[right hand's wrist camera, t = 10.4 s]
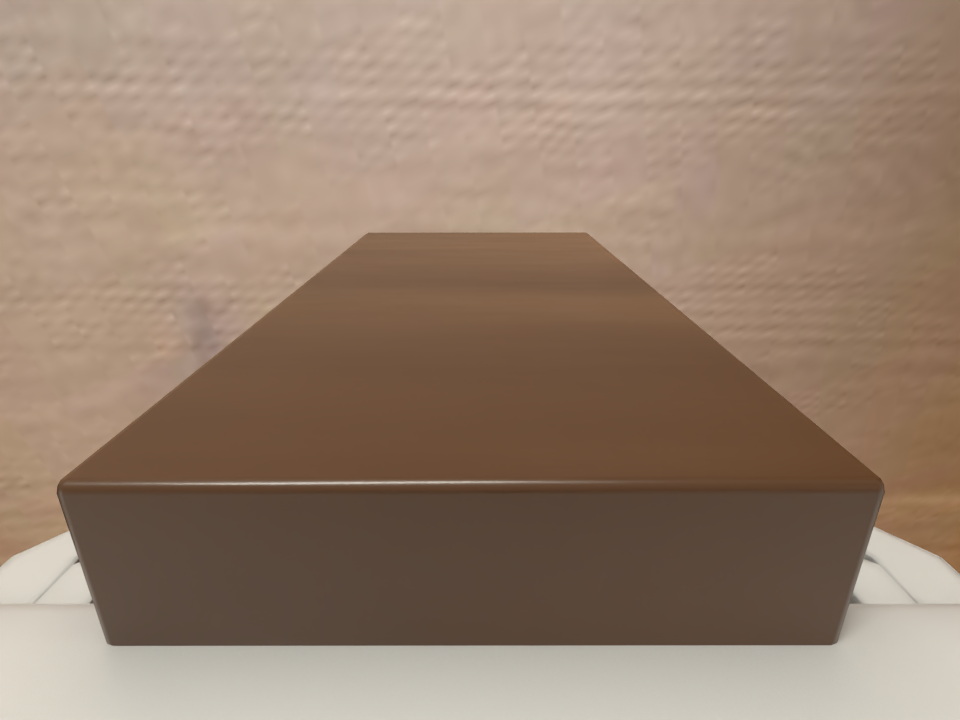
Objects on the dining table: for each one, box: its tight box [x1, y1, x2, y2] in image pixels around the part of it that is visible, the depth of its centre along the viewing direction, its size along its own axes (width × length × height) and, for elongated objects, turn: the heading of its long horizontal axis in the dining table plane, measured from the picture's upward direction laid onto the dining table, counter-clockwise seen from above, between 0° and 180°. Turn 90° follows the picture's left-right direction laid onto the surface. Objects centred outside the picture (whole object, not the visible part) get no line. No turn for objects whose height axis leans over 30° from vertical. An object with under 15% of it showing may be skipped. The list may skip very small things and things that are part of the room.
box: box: [57, 233, 885, 646], centre depth 13 cm, size 20×6×12 cm, turn 0°
